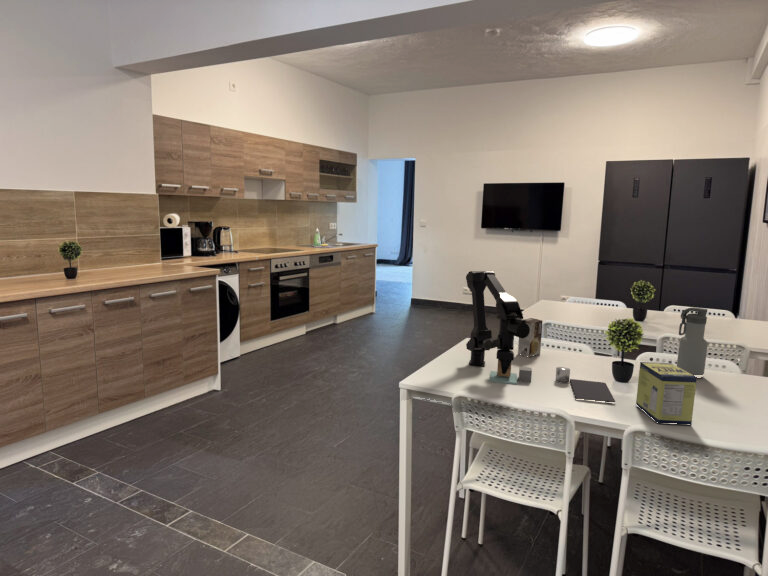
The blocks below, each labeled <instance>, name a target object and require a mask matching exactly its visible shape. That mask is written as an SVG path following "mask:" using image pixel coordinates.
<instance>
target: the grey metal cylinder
mask: <svg viewBox="0 0 768 576" xmlns="http://www.w3.org/2000/svg"><path fill="white" fill-rule="evenodd" d="M570 375H571V368H568V367H565V366H557V367H556V369H555V379H554V380H556V381H558V382H557V383H559V382H562V383H561V384H568V383H567V382H569V383H570V379H571V378H570ZM556 381H555V382H556Z"/></svg>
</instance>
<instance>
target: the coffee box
mask: <svg viewBox="0 0 768 576" xmlns="http://www.w3.org/2000/svg"><path fill="white" fill-rule="evenodd" d="M523 319H524V318H523ZM524 320H526V324H528V326H529V329H530V333H529V335H528V336H527V337H526V338H523V339H522V338H519V337H518V344H517V346H518V347H517V355H518V354H521V355H520V356H522V355H525V356H524V357H526V356H528V357H527V358H531V357H530V356H532V357H534V356H533V355H536V356H538V355H537V354H539V355H541V348H542V337H543V336H542V335H543V333H542V332H543V320H542V319H537V318H532V317H531V318H525V319H524Z"/></svg>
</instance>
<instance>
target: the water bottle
mask: <svg viewBox="0 0 768 576" xmlns="http://www.w3.org/2000/svg"><path fill="white" fill-rule="evenodd" d="M689 312H697V313H689ZM707 313H708V309H707V308H703V307H702V308H701V307H695V306H694V307H692V306H691V307H689V308H685V309H684V310H683V311H681V313H680V319H681V323H679V326H678V327H679V329H678V336H682V337H680V339H679V343H678V345H679V346H678V351H677V352H678V353H677V361H676V366H677V367H679V368H680V369H682V370H684V371H686V372H688V373H690V374H692V375H703V374H704V375H705V367H706V361H707V353H708V345H709V344H708V341H707V340H706V339H705V329H706V325H707V319H708V317H707ZM683 325H684V326H683ZM682 327H683V328H682ZM682 329H683V332H682ZM683 335H684V336H683Z"/></svg>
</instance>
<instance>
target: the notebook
mask: <svg viewBox="0 0 768 576" xmlns="http://www.w3.org/2000/svg"><path fill="white" fill-rule="evenodd" d="M570 383H571V384H570ZM569 384H570V386H572V387H571V389H573V390H572V393H573V392H574V393H573V396H574V395H575V396H574V398H576V399H584V400H595V401H605V402H615V403H616V400H615V398H614V396H613V395H612V392H611V391H610V388H609V387H608V385H607V383H606V382H601V381H592V380H585V379H584V380H582V379H573V378H569ZM576 399H575V400H576Z"/></svg>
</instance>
